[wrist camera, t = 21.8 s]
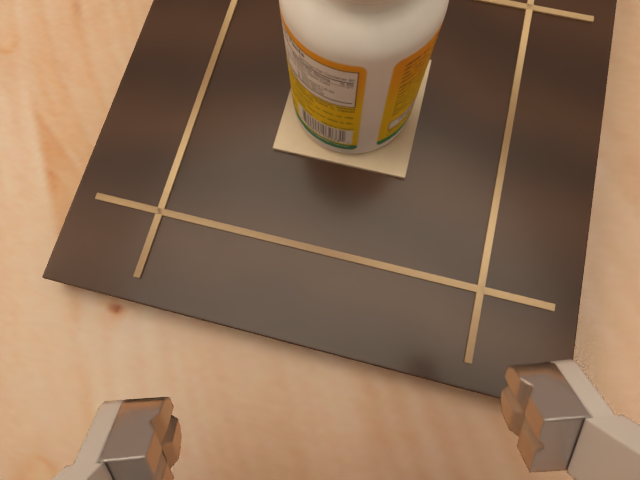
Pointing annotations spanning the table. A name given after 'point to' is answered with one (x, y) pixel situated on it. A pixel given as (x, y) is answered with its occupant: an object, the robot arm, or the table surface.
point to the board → (354, 191)
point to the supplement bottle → (357, 66)
